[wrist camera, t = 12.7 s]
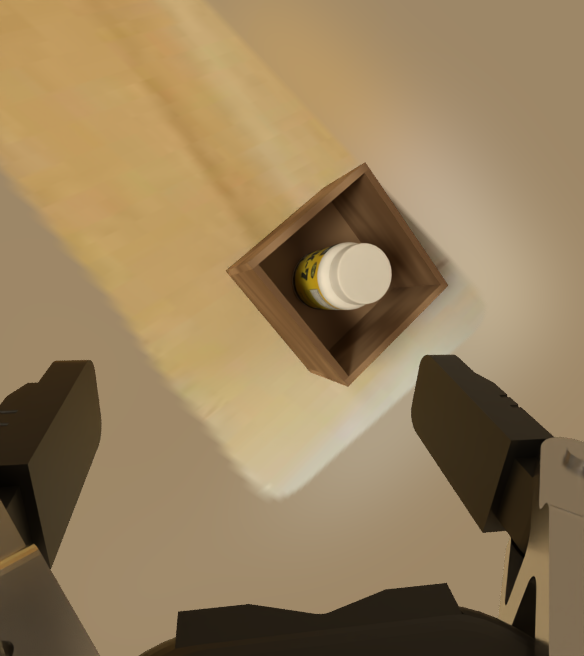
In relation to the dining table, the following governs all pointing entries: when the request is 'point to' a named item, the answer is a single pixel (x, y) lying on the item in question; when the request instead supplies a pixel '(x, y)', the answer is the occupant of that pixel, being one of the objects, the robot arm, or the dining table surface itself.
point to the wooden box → (324, 231)
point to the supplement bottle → (342, 276)
